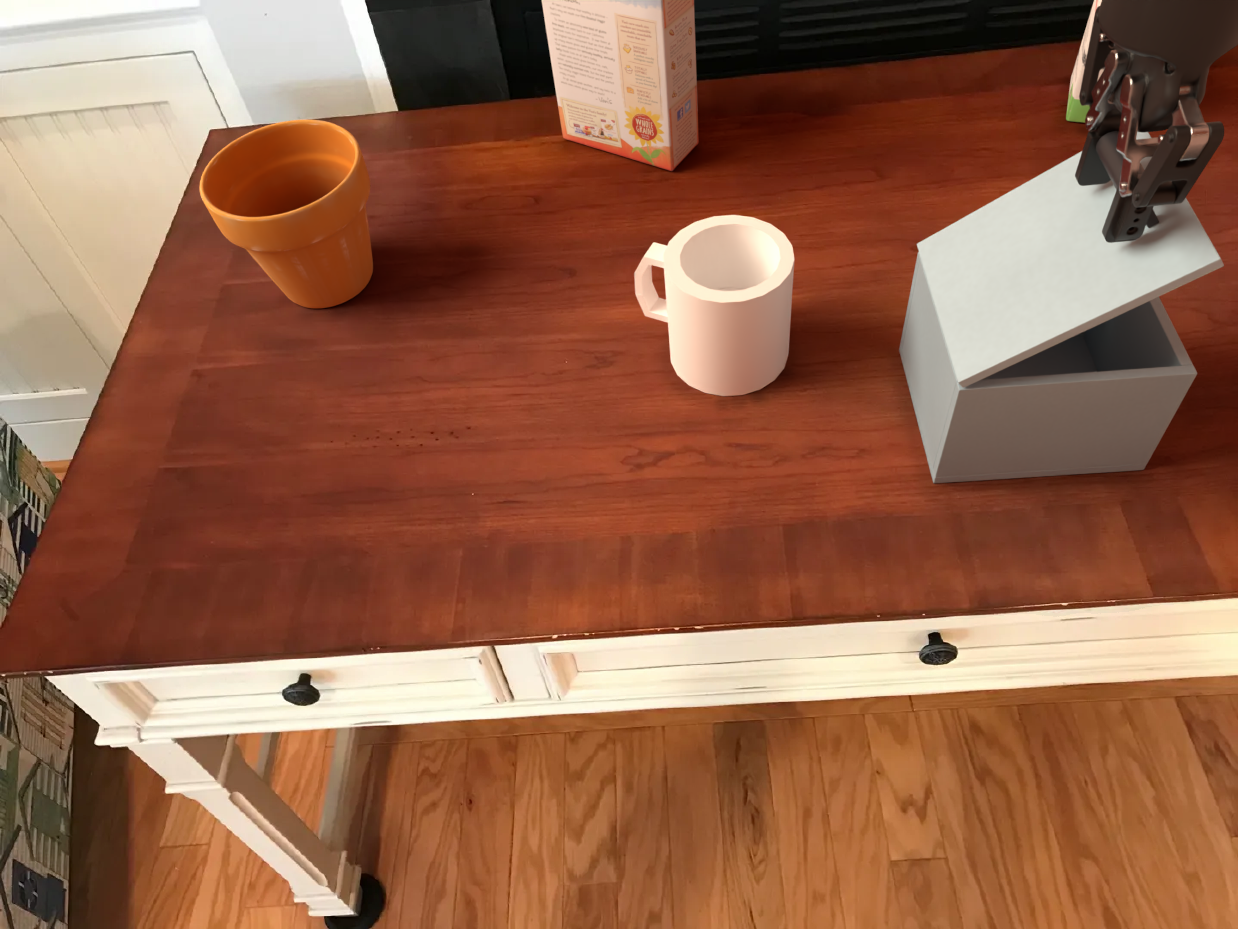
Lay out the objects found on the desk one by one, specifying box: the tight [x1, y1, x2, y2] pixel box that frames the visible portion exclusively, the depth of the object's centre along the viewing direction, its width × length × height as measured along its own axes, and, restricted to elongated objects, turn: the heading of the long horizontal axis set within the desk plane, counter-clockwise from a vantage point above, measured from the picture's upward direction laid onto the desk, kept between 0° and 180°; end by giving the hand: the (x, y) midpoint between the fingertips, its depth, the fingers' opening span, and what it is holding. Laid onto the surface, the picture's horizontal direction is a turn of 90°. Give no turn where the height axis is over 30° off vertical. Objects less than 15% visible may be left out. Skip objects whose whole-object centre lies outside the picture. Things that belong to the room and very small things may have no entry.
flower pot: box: [198, 119, 374, 309], centre depth 91 cm, size 14×14×13 cm
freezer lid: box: [916, 131, 1225, 388], centre depth 65 cm, size 16×14×5 cm
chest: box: [898, 251, 1198, 484], centre depth 74 cm, size 16×14×11 cm
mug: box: [633, 214, 795, 397], centre depth 81 cm, size 14×10×11 cm
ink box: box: [1065, 0, 1105, 124], centre depth 97 cm, size 9×5×12 cm, turn 160°
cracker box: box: [541, 0, 700, 172], centre depth 96 cm, size 14×6×21 cm, turn 56°
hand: (1105, 207), depth 63 cm, fingers closed on freezer lid, 5 cm apart
